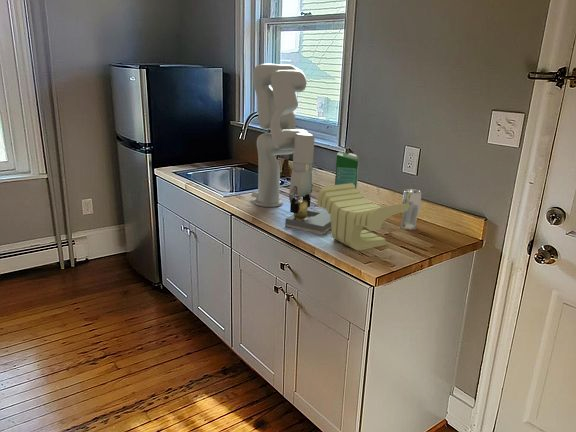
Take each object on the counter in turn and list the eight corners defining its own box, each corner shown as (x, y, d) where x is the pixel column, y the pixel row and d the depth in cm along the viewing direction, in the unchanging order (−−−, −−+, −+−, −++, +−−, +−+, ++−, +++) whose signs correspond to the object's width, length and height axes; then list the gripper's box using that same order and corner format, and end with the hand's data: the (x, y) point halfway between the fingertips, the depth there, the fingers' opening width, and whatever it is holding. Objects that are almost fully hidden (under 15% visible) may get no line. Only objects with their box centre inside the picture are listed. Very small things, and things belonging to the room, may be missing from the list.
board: (285, 226, 186) (285, 218, 185) (304, 216, 199) (304, 208, 198) (322, 234, 179) (322, 226, 178) (339, 223, 192) (340, 215, 191)
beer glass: (407, 231, 185) (411, 194, 180) (395, 226, 191) (399, 189, 186) (421, 229, 188) (425, 192, 184) (409, 223, 194) (413, 188, 189)
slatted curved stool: (315, 232, 180) (318, 187, 175) (349, 226, 188) (352, 182, 183) (367, 260, 156) (372, 208, 150) (403, 252, 164) (409, 202, 158)
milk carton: (354, 213, 205) (358, 155, 198) (333, 211, 207) (336, 154, 199) (355, 207, 214) (359, 152, 206) (335, 205, 215) (338, 150, 208)
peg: (290, 224, 185) (291, 202, 182) (297, 221, 189) (298, 199, 187) (302, 226, 183) (303, 204, 180) (308, 223, 187) (310, 201, 184)
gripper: (304, 161, 188) (302, 202, 194) (282, 169, 174) (280, 213, 179) (321, 163, 185) (318, 205, 190) (300, 172, 170) (298, 217, 176)
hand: (300, 209), depth 185 cm, fingers open, 9 cm apart
